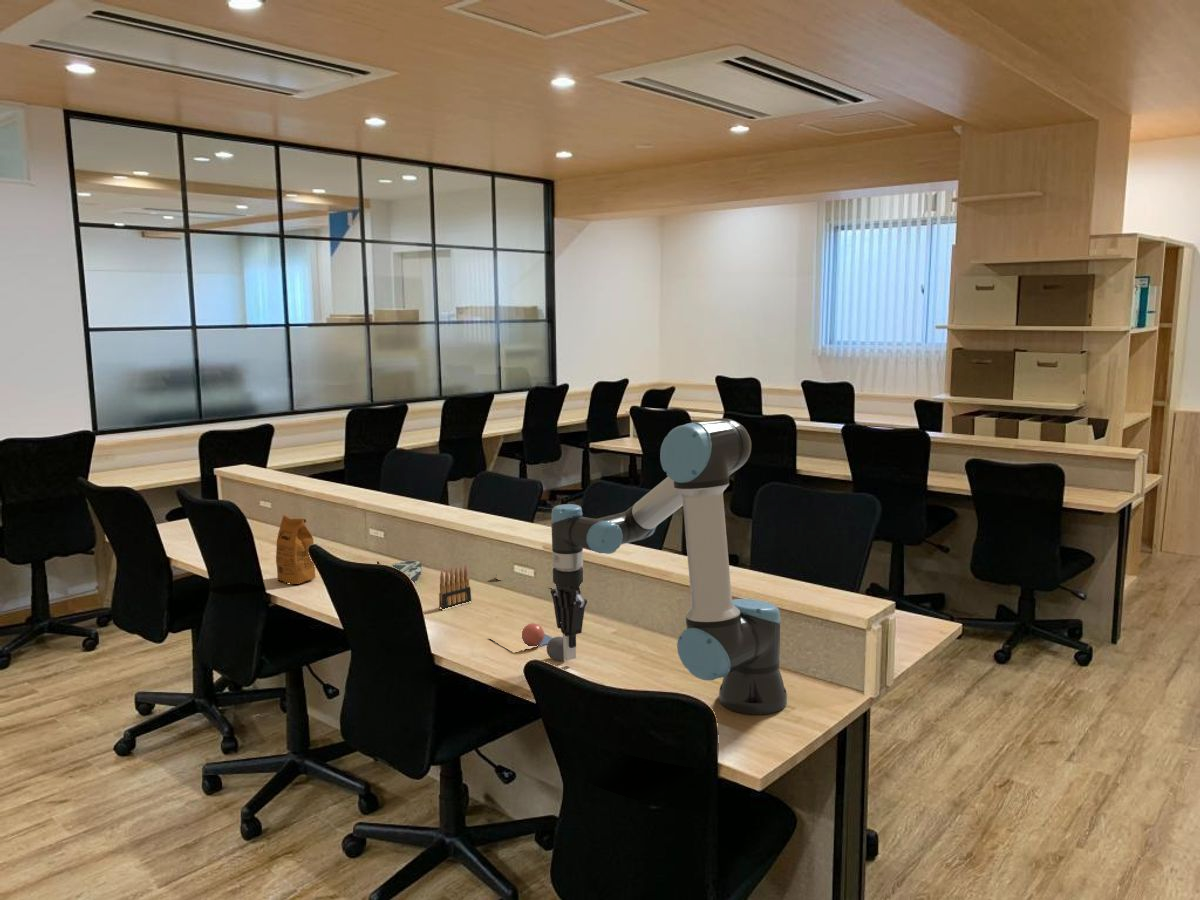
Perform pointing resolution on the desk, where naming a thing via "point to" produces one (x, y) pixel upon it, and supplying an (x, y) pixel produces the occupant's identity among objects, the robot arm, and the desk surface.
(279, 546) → the coffee package
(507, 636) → the desk surface
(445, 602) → the ammunition clip
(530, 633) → the object ball
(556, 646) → the gray ball
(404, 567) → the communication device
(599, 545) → the robot arm
